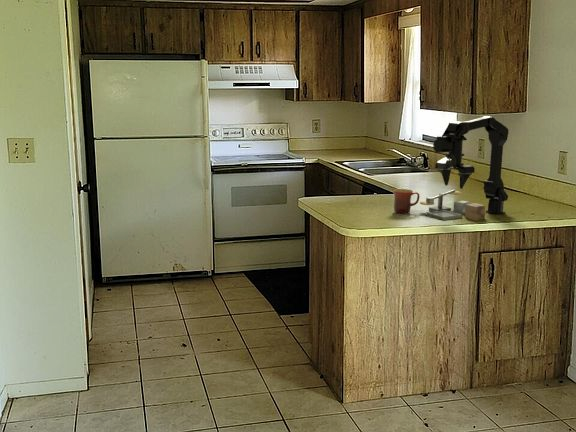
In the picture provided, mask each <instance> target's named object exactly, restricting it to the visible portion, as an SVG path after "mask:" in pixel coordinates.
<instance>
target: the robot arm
mask: <svg viewBox="0 0 576 432" xmlns="http://www.w3.org/2000/svg"><path fill="white" fill-rule="evenodd" d="M481 128H484V131H485V132H486V133H487V135H488V141H489V143H490V145H491V148H490V149H491V150H490V164H489V175H488V178H487V179H486V180H484V181H483V187H482V189H483V191H484V194H485V198H486V199H488V203H487V205H488V206H487V210H485V213H489V214H493V215H501V214H506V211H504V206H505V205H504V202H505V201H506V202H507V201H508V199H509V195H508V194H507V192H506V191H505V187H504V186H505V184H504V182H503V179H502V176H501V175H502V168H503V167H502V163H503V154H504V153H503V150H504V145H505V143H506V142H507V141H508V137H509V128H508V127H507V126H506V125H504V124H503V123H501V122H500V121H498V120H497V119H496V118H495V117H493V116H490V115H489V116H488V115H484V116H481V117H478V118H475V119H470V120H466V121H459V120H458V121H456V120H452V121H450V122H448V125H447V127H446V128H445V130H444V131H443V133H442V135H441V136H440V135H439V136H437V137H436V139H435V140H434V142H433V145H432V147H433V148H432V149H433V150H434V152H435V153H437V154H439V153H446V154H445V157H442V158H441V159H439V160H438V161H437V162H436V163H434V164H435V165H434V166H435V169H437V171H438V172H439V173H441V176H442V179H443V183H444V186H448V185H449V182H450V177H451V172H452V170H455V171H458V173H457V175H458V177H459V189H460V190H463V188H464V187H465V184H466V182H467V181H468V179H469V178H470V177H471V175H473V174H474V173H475V171H476V168H475V166H473V165H468V164H466V165H465V163H464V162H462V161H463V157H464V156H465V153H464V152H463V142H464V141H467V137H466V136H464V135H466V134H468V133H469V132H470V131H473V130H478V129H481Z"/></svg>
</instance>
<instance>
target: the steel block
mask: <svg viewBox="0 0 576 432" xmlns="http://www.w3.org/2000/svg"><path fill="white" fill-rule="evenodd" d="M465 204H470V201H468V200H461V199H459V200H455V201H453V211H452V212H454V213H458V214H462V215H465Z"/></svg>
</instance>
